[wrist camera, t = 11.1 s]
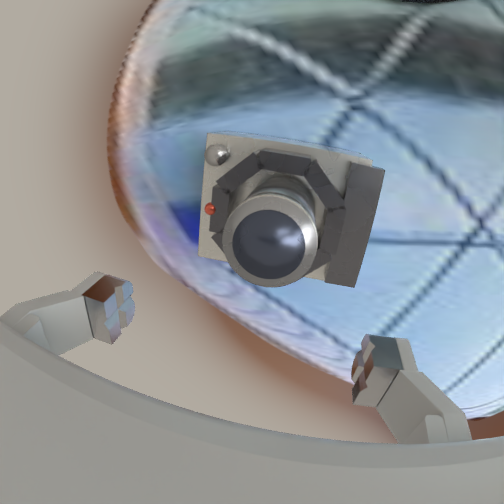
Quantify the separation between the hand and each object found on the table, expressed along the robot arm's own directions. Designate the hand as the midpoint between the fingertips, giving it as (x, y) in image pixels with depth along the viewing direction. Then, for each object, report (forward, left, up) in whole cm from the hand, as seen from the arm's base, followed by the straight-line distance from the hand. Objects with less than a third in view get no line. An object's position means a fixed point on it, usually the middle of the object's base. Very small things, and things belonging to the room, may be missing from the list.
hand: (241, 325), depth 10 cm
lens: (0, 0, -14) cm, 14 cm away
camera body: (0, 0, -20) cm, 20 cm away
